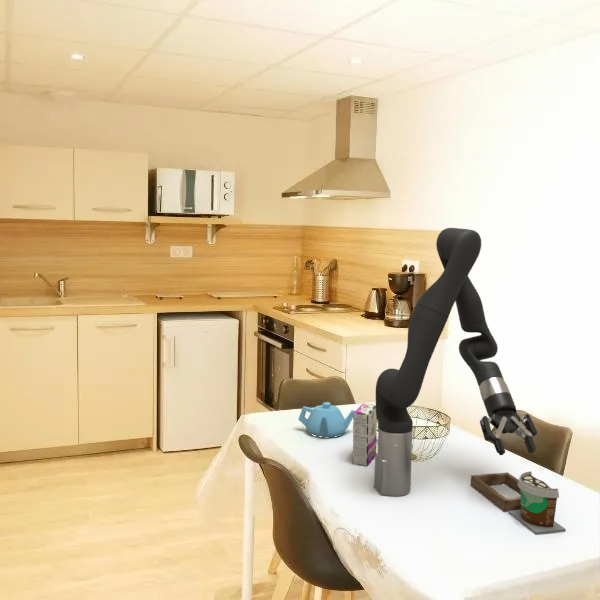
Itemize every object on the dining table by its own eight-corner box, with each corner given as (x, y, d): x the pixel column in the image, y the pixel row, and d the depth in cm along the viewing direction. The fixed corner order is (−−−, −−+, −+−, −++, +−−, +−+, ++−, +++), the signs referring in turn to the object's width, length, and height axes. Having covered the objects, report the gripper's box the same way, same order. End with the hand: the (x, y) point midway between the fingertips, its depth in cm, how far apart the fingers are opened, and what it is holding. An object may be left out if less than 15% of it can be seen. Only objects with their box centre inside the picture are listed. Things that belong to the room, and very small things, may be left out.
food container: (506, 510, 167) (508, 472, 165) (528, 508, 168) (530, 470, 167) (533, 532, 155) (536, 491, 154) (557, 529, 156) (559, 489, 155)
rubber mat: (535, 534, 155) (536, 532, 155) (508, 513, 166) (508, 510, 166) (565, 531, 157) (565, 529, 157) (536, 510, 168) (536, 508, 168)
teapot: (329, 423, 240) (329, 395, 239) (357, 434, 228) (357, 404, 227) (295, 431, 231) (296, 401, 230) (323, 442, 219) (323, 411, 218)
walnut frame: (503, 512, 167) (504, 500, 167) (470, 485, 184) (470, 475, 183) (543, 508, 170) (544, 496, 169) (506, 482, 186) (507, 472, 186)
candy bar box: (361, 452, 209) (362, 402, 207) (376, 455, 208) (377, 404, 206) (351, 464, 199) (352, 411, 197) (367, 466, 197) (368, 413, 195)
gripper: (478, 391, 174) (498, 448, 164) (526, 390, 177) (549, 445, 167) (467, 406, 179) (486, 461, 170) (514, 404, 183) (535, 458, 173)
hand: (517, 453), depth 168 cm, fingers open, 8 cm apart
